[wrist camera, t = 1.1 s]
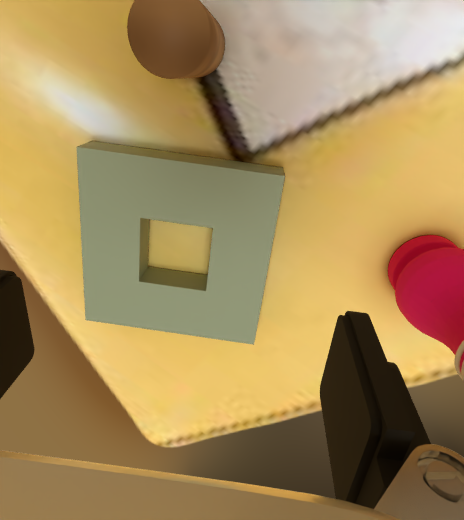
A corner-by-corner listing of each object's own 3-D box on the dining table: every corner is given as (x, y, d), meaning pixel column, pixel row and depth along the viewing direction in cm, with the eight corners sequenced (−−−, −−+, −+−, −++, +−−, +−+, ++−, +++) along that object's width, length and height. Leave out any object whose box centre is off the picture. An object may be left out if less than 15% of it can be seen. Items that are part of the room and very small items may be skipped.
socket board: (92, 140, 32) (76, 146, 29) (283, 167, 32) (285, 176, 29) (97, 303, 39) (85, 319, 36) (254, 325, 39) (253, 344, 36)
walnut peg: (167, 5, 28) (127, -24, 20) (228, 13, 28) (213, -12, 19) (164, 73, 30) (127, 72, 21) (221, 81, 29) (205, 83, 21)
